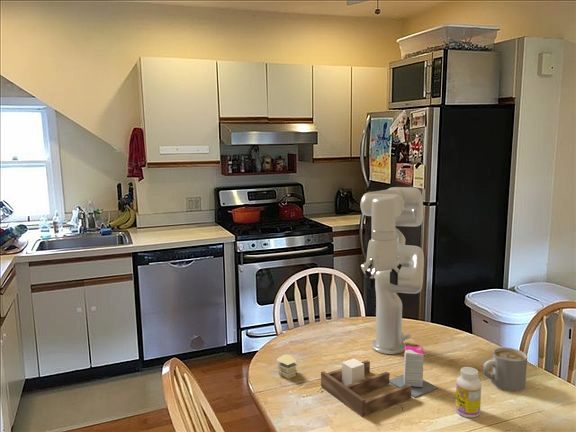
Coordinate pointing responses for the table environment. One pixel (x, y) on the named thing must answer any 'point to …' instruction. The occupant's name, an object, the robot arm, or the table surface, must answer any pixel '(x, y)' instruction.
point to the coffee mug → (507, 369)
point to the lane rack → (364, 391)
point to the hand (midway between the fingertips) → (382, 286)
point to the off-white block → (352, 371)
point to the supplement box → (413, 366)
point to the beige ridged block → (286, 366)
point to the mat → (414, 391)
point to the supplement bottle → (468, 393)
